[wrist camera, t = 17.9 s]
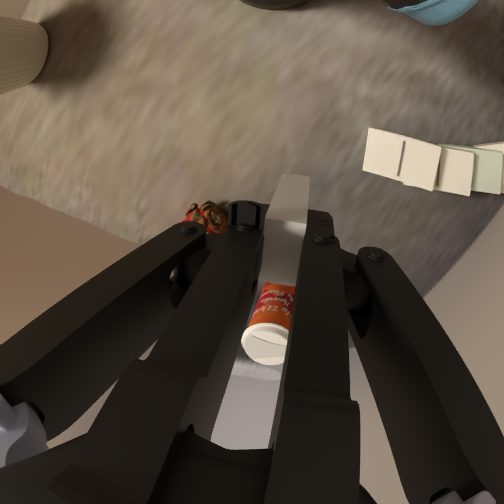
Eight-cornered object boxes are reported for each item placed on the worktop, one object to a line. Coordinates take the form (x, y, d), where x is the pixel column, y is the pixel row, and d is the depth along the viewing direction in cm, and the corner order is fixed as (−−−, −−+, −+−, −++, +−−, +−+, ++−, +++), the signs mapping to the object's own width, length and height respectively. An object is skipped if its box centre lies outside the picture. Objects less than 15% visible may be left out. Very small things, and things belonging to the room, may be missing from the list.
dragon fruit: (227, 187, 47) (216, 245, 55) (173, 189, 43) (169, 250, 51) (247, 219, 42) (232, 280, 49) (186, 224, 38) (180, 287, 46)
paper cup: (303, 273, 50) (297, 332, 38) (300, 309, 54) (293, 369, 42) (256, 270, 51) (237, 326, 39) (257, 305, 55) (240, 363, 43)
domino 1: (368, 127, 35) (441, 147, 31) (372, 127, 37) (441, 146, 32) (362, 170, 38) (432, 191, 34) (365, 168, 40) (432, 188, 35)
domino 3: (439, 145, 34) (503, 153, 29) (438, 143, 35) (499, 150, 30) (438, 186, 36) (500, 194, 31) (438, 183, 38) (497, 190, 33)
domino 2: (404, 142, 35) (474, 153, 30) (405, 140, 37) (472, 150, 31) (403, 184, 38) (469, 196, 33) (404, 181, 39) (468, 192, 34)
